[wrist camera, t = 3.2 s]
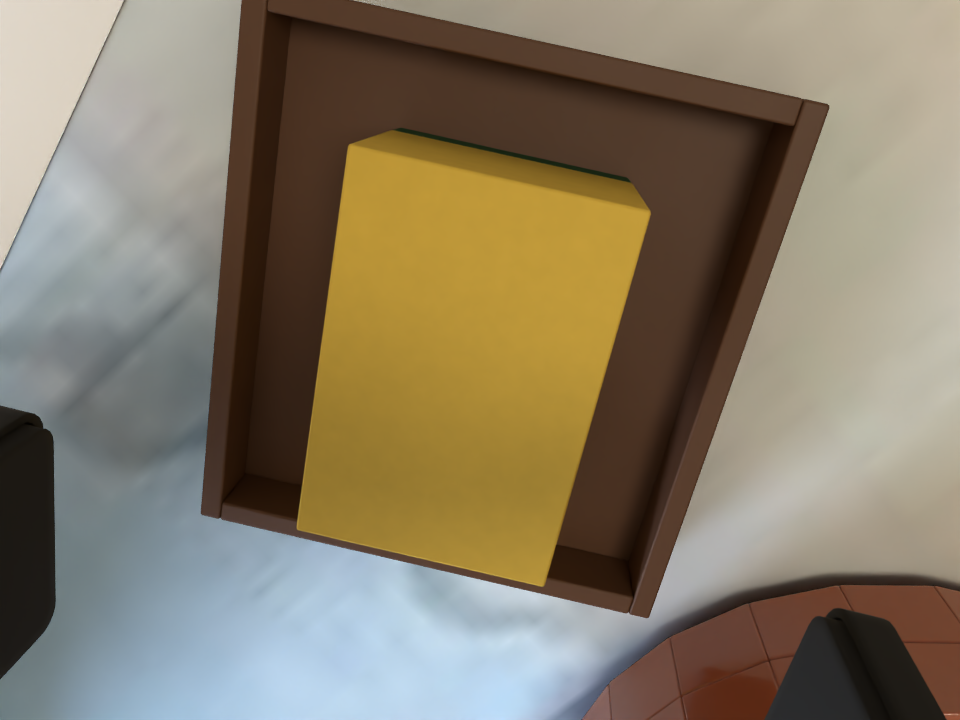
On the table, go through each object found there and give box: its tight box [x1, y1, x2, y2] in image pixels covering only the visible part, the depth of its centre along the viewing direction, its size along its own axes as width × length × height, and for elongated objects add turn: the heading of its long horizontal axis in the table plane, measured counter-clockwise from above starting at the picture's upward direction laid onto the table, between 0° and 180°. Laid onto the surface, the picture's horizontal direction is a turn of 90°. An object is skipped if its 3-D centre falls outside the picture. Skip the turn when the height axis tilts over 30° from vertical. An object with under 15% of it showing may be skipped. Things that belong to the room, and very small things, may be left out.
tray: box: [201, 0, 829, 618], centre depth 20 cm, size 13×14×2 cm
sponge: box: [297, 128, 651, 587], centre depth 19 cm, size 6×9×5 cm, turn 169°
